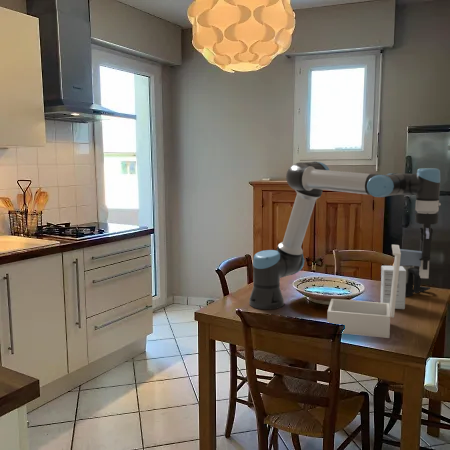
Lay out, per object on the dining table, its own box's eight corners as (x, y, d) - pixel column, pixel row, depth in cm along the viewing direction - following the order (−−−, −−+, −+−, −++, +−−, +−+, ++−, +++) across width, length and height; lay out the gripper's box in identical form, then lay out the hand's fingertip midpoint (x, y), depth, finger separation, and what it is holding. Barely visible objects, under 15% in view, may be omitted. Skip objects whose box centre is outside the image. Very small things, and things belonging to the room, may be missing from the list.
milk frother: (388, 293, 222) (390, 263, 220) (404, 287, 233) (405, 257, 230) (418, 300, 212) (420, 268, 209) (433, 293, 222) (435, 262, 220)
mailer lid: (393, 253, 164) (428, 256, 160) (391, 244, 179) (424, 247, 176) (386, 316, 168) (421, 321, 164) (385, 302, 183) (417, 306, 180)
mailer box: (327, 331, 175) (327, 311, 174) (331, 317, 190) (331, 298, 189) (389, 338, 169) (390, 316, 167) (388, 322, 184) (389, 303, 182)
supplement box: (405, 309, 199) (406, 270, 197) (382, 308, 201) (383, 270, 199) (401, 302, 208) (403, 265, 206) (379, 301, 210) (381, 264, 208)
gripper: (441, 215, 157) (437, 283, 161) (435, 209, 173) (432, 272, 176) (417, 214, 160) (414, 281, 163) (413, 209, 175) (411, 270, 178)
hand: (423, 276), depth 170 cm, fingers closed on mailer lid, 3 cm apart
